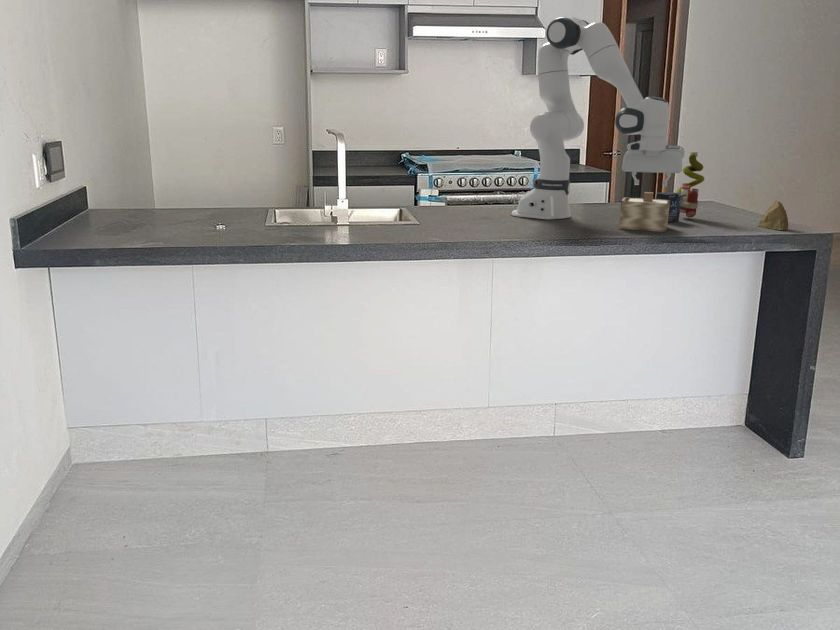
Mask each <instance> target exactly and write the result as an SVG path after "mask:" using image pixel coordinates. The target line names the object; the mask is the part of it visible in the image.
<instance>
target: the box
mask: <svg viewBox="0 0 840 630" xmlns="http://www.w3.org/2000/svg"><path fill="white" fill-rule="evenodd" d="M655 197H656V198H655V199H661V200H670V206H669V216H668V223H674V222H679V221H680V213H681V212H680V206H681V197H682V194H681V193H676V192H673V191H665V192H656V196H655Z"/></svg>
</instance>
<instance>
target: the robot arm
mask: <svg viewBox="0 0 840 630" xmlns="http://www.w3.org/2000/svg"><path fill="white" fill-rule="evenodd" d="M545 36H546V39H547V42H546V43H544V44H542V45H541V46H540V47H539V49H538V54H537V55H538V56H537V80H538V89H539V92H538V93H539V97H540V98H541V101H543V102H544V104H545V106H546V109H547V111H545V112H541V113H539V114H537V115H535V116H534V117H533V118H532V119H531V121H530V125H529V131H530V134H531V136H532V137H533V139H534V140H535V142H536V145H537V148H538V153H539V158H540V159H539V160H540V161H539V164H540V165H539V178H538V177H537V178H535V179H534V180H533V187H534V188H533V189H531V190H529V191H528V192H526V193H525V194H524V195H522V196H521V198H520V199H519V202H518V204H517V209H514V210H512V211H511V216H513V217H520V218H521V217H522V218H530V219H542V220H557V219H567V218H571V217H572V215H571V211H570V204H569V203H570V202H569V195H570V189H571V188H570V187H571V180H570V169H571V158H570V156H569V154H568V153H567V152H566V149H565V142H569V141H573V140H575V139H577V138H579V137H580V136H581V135H582V133H583V132H584V129H585V124H584V122H585V121H584V119H583V117H582V116H581V115H580V114H579V113H578V111H577V108H576V105H575V103H574V102H573V101H574V100H573V98H572V94H571V87H570V77H569V67H568V58H569V56H570V55H572V56H573V55H575V54H578V53H579V52H581V51H583V52H584V53H585V57H586V59H587V61H588V63H589V66H590V68H591V70H592V71H593V73H594V74H595V75H596V77H597V78H599V79H601V80H603V81H605V82H607V83H609V84H611V85H612V86H614V87H615V88H616V89H617V90H618V92H619V93H620V95H621V97H622V98H623V99H622V100H624V103H625V104H626V107H623V108H621V109H620V110H619V111H618V112H617V113H616V116H615V120H614V124H615V127H616V130H617V131H618V132H619V133H620V134H623V135H627V136H630V135H632V136H633V135H639V136H640V140H635V141H633V142H630V143H628V144H627V146H626V149H627V151H625V153H624V155H623V159H622V164H621V170H622V171H623V172H626V173H627V172H628V173H629V172H630V173H631V176H632V178H633V181H634V182H633V183H634V186H639V185H640V179H637V176H636V175H637V173H656V174H661V173H662V174H664V173H665V174H666V177H667V178H666V179H665V180H662V183H661V185H662V186H661V187H667V185H668V181H669V179H670V178H671V176H672V174H680V173H681V172H683V159H684V157H685V148H683V147H682V146H681V145H670V144H669V145H668V127H669V122H670V106H669V102H668V100H667V99H666V98H663V97H659V96H646V97H645V98H644V96H643V94H642V91H641V89H640V87H639V86H638V83H637V82H636V80H635V78H634V76H633V75H632V73H631V71H630V69H629V67H628V65H627V64H626V61H625V58H624V56H623V55H622V52H621V50H620V48H619V45H618V43H617V41H616V39H615V37H614V35H613V33H612V32H611V30H610V29H609V28H608V26H607V25H606V24H605V23H604V22H602V21H601V22H600V21H597V22H593V23H590V22H588V21H586V20H583V19H581V18H578V17H577V18H576V17H567V16H566V17H565V16H560V17H556V18H555V19H553V20H551V21H550V23H549V24H548V26H547V28H546V35H545Z"/></svg>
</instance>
